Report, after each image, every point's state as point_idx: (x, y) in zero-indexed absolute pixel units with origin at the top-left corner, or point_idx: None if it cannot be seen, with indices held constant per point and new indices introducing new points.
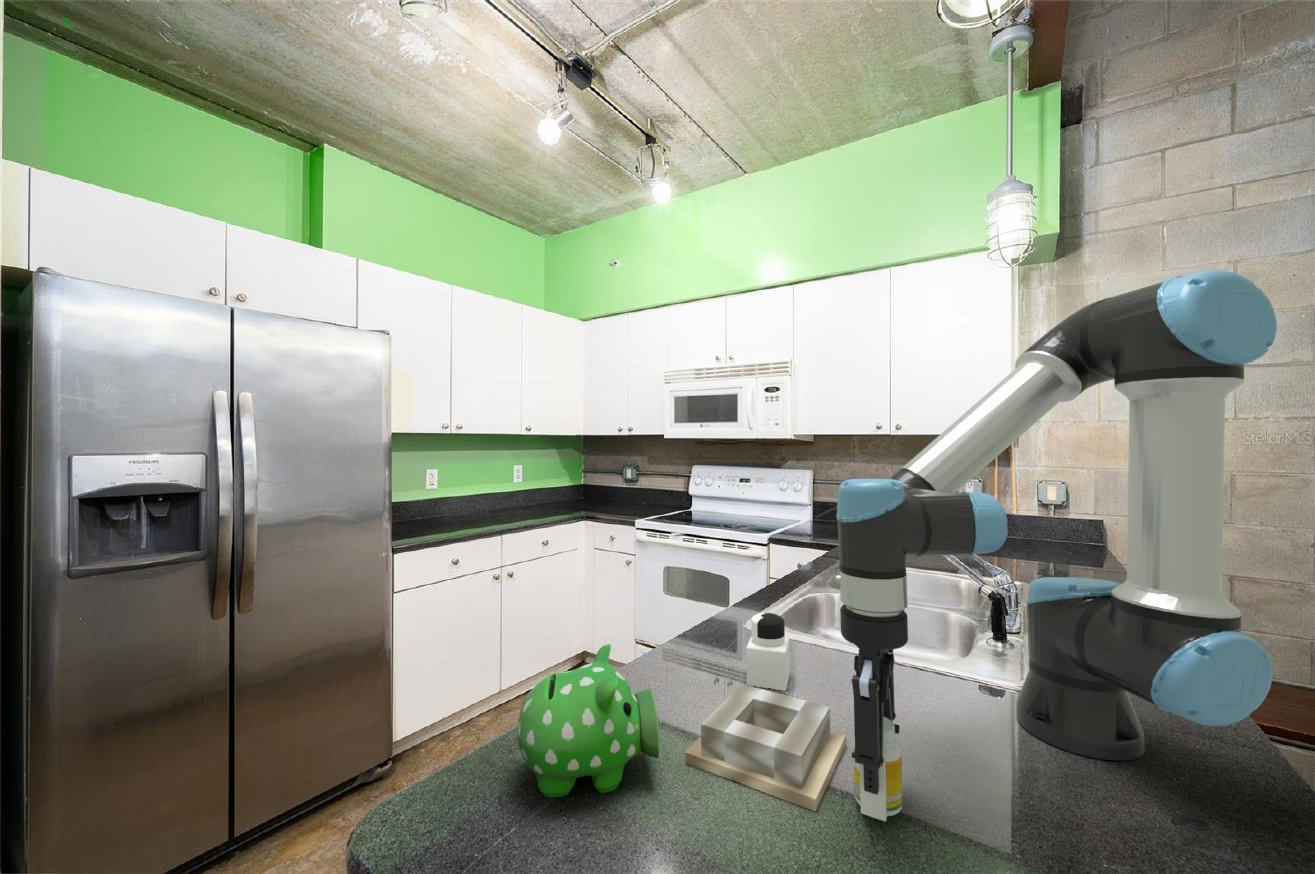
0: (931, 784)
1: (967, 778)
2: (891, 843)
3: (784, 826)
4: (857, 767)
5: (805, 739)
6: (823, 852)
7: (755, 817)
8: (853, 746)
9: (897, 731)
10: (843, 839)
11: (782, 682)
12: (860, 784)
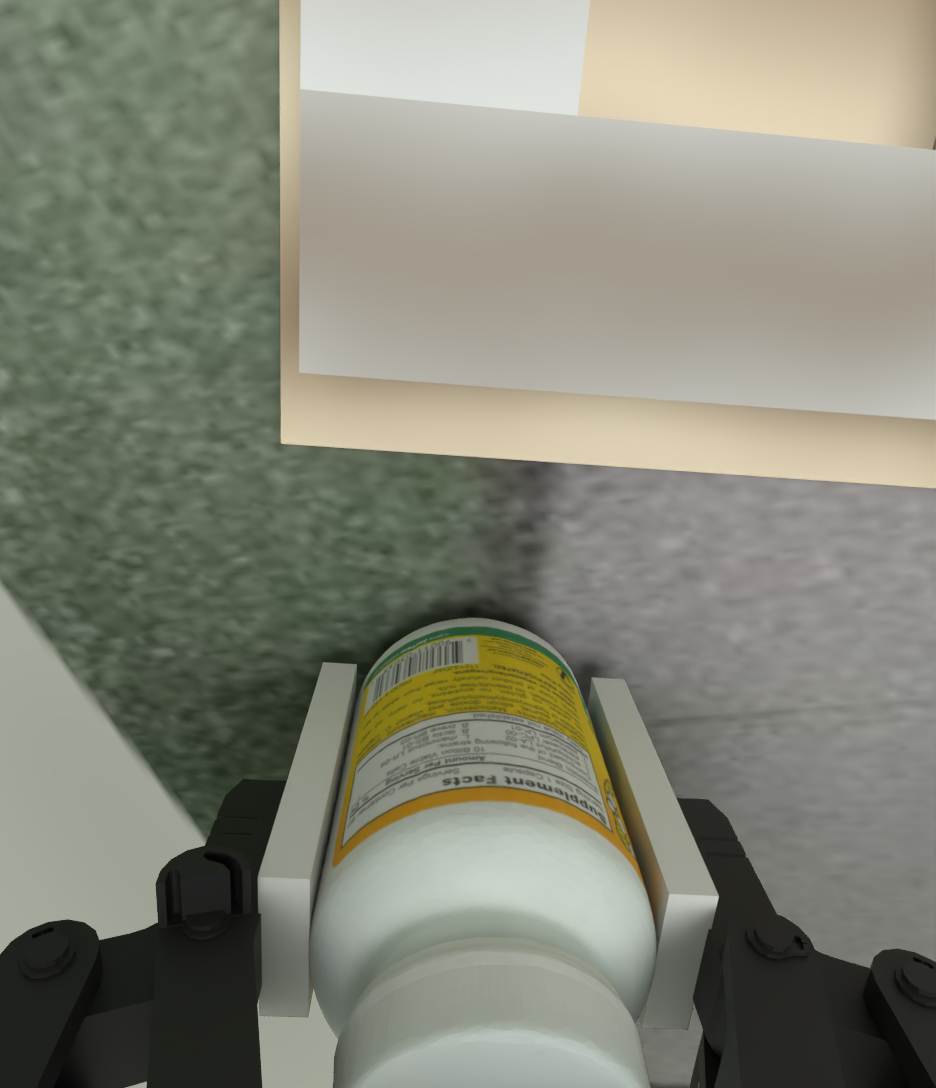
0: (765, 868)
1: None
2: (271, 758)
3: (79, 293)
4: (377, 757)
5: (578, 348)
6: (29, 516)
7: (40, 99)
8: (438, 798)
9: (695, 1085)
10: (173, 583)
11: None
12: (298, 750)
